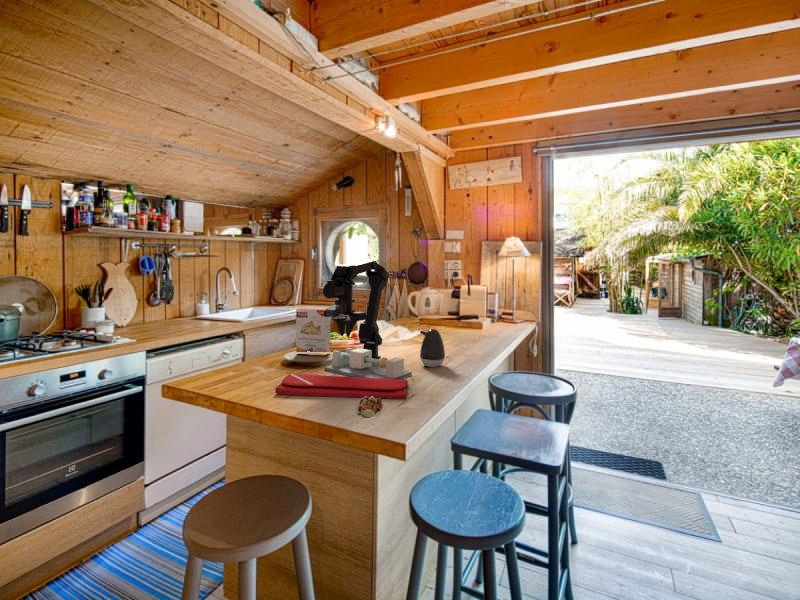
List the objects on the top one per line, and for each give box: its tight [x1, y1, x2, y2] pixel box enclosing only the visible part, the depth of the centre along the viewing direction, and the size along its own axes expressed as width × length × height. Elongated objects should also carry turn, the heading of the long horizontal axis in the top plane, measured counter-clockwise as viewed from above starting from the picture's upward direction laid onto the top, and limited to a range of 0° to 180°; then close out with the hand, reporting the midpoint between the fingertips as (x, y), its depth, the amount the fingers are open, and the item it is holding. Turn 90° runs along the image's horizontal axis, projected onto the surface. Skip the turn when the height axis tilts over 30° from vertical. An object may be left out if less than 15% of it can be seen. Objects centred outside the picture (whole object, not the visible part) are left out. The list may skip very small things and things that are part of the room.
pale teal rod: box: [340, 351, 389, 369], centre depth 158 cm, size 4×29×4 cm, turn 53°
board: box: [324, 347, 413, 380], centre depth 158 cm, size 16×30×7 cm, turn 53°
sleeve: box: [350, 348, 373, 369], centre depth 160 cm, size 6×6×6 cm
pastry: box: [357, 396, 383, 418], centre depth 118 cm, size 7×12×4 cm, turn 2°
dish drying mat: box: [274, 372, 409, 400], centre depth 136 cm, size 16×41×4 cm, turn 87°
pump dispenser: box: [419, 328, 446, 368], centre depth 169 cm, size 10×10×15 cm
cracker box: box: [295, 307, 331, 353], centre depth 186 cm, size 14×6×21 cm, turn 81°
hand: (344, 336), depth 164 cm, fingers open, 3 cm apart
